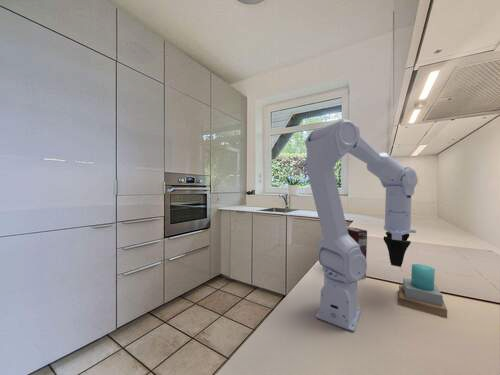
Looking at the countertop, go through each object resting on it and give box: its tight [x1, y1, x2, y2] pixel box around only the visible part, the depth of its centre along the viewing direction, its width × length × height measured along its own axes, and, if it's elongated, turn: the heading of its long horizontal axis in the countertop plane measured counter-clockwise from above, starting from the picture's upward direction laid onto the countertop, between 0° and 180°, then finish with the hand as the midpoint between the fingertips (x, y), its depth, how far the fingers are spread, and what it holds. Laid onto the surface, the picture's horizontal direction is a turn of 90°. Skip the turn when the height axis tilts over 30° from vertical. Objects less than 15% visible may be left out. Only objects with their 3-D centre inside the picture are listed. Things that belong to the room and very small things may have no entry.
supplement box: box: [346, 225, 368, 280], centre depth 72 cm, size 9×5×16 cm, turn 25°
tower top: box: [402, 277, 444, 306], centre depth 55 cm, size 7×7×2 cm
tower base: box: [398, 284, 448, 318], centre depth 55 cm, size 9×9×2 cm
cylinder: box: [411, 263, 436, 291], centre depth 55 cm, size 5×5×5 cm
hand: (396, 261), depth 57 cm, fingers open, 7 cm apart
